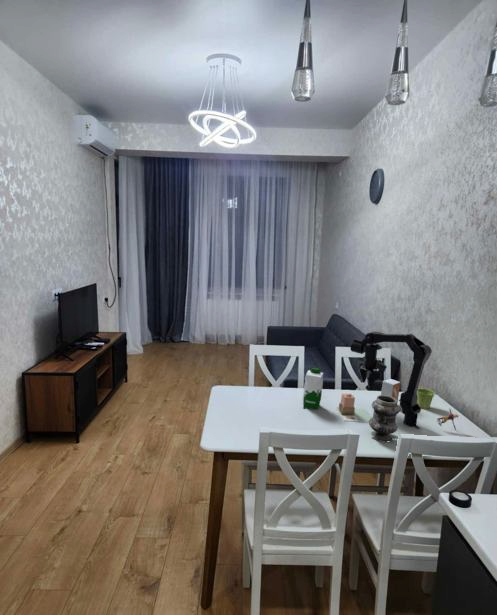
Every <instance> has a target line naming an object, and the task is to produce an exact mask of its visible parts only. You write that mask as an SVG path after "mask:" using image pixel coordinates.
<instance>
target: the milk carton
mask: <svg viewBox="0 0 497 615" xmlns="http://www.w3.org/2000/svg"><path fill="white" fill-rule="evenodd" d="M323 382H324V372H321V370H320V367H311V370H307V372H306V374H305V379H304V388H303V397H302V398H303V400H302V401H303V403H302V404H303V407H302V408H303V409H304V410H306V409H309V410H310V409H311V410H318V409H319V407H320V405H321V404H320V403H321V400H322V393H323V385H324V383H323Z"/></svg>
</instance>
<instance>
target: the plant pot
mask: <svg viewBox="0 0 497 615" xmlns="http://www.w3.org/2000/svg"><path fill="white" fill-rule="evenodd" d="M434 396H436V392H434V391H433V390H431V389H427V388H422V387H421V388H418V389H417V397H418V399H417V403H418V405H419V406H420V408H421V409H423V410H424V409H425V410H429V409H430V407H431V404H432V403H433V402H432V401H433V398H434Z"/></svg>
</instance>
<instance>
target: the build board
mask: <svg viewBox="0 0 497 615" xmlns="http://www.w3.org/2000/svg"><path fill="white" fill-rule="evenodd" d="M334 408H335V410H336V411H337V413H338V415H339V416H340V418H341V419H342V420H343V422H345V423H346V422H347V423H349V422H351V423H353V422H354V423H369V420H370V419H371V418H372V417H373V415H371V413H370V412H369V411H368V410H367V409H366V408H356V407H355V412H354V416H351V415H342V414H341V413H340V412H339V407H334Z"/></svg>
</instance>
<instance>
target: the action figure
mask: <svg viewBox="0 0 497 615" xmlns="http://www.w3.org/2000/svg"><path fill="white" fill-rule="evenodd" d="M457 418H459V414H457V413H452V409H451V408H449V415H447V416H441V417H437V418H436V421H437V424H438V425H439V426H440V427H442V426H443V424H445V423H447V422H448V421H450V420H451V422H452V424H453V425H452V426H453V428H454V430H455V431H457V428H456V425H455V422H454V420H455V419H457Z"/></svg>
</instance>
